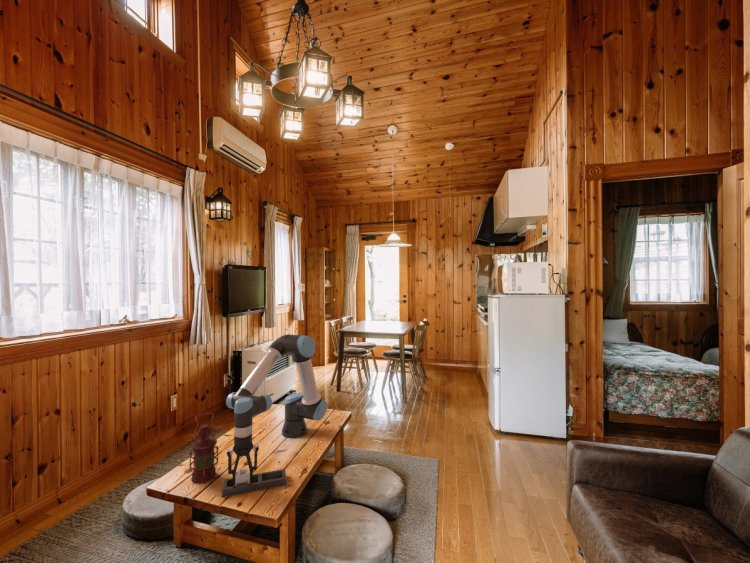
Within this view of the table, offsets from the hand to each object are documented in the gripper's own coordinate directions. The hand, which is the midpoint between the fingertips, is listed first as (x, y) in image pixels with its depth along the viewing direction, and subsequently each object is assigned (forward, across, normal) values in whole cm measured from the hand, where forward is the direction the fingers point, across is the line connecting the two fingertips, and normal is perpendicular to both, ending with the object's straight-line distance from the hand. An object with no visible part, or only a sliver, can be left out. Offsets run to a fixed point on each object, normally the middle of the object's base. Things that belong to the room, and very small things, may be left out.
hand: (242, 486), depth 147 cm
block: (0, 0, 0) cm, 0 cm away
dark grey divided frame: (0, -5, 0) cm, 5 cm away
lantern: (+1, +18, -15) cm, 23 cm away
